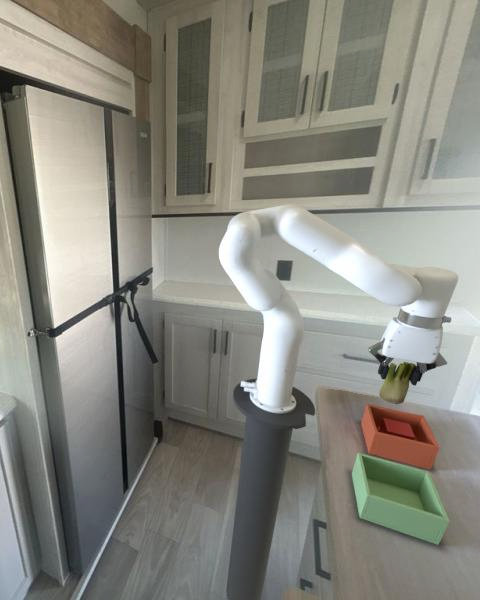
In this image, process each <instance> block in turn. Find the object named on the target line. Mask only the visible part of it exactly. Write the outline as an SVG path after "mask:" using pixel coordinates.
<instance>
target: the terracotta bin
mask: <svg viewBox="0 0 480 600" xmlns="http://www.w3.org/2000/svg"><path fill="white" fill-rule="evenodd" d="M383 418H386V419H391V420H395V421H400V422H404V423H409V424H410V426H411V429H412V431H413V434H414V436H415V439H414V440H410V439H406V438H402V437H398V436H393V435H389V434H385V433H381V432H379V430H380V426H381V423H382V420H383ZM428 423H429V422H428V421H427V419H426V417H425V415H421V414H416V413H411V412H406V411H403V410H397V409H393V408H387V407H383V406H379V405H373V404H369V403H366V405H365V409H364V412H363V415H362V419H361V423H360V425H361V429H362V433H363V437H364V442H365V446H366V449H367V453H368V454H369V455H373V456H378V457H379V458H384V459H388V460H391V461H394V462H398V463H399V462H400V463H403V464H407V465H409V466H414V467H418V468H423V469H426V470H430V471H432V467H433V466H434V463H435V461H436V459H437V456H438V454H439V451H440V446H439V443H438V442H437V440H436V438H435V436H434V433H433V432H432V429H431V427H430V425H429V424H428Z"/></svg>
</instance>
